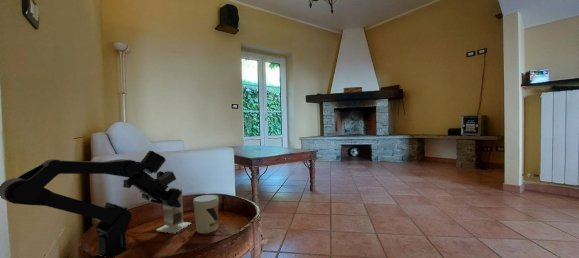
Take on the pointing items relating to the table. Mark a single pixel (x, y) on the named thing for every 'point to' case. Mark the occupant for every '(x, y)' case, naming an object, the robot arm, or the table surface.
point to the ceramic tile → (173, 227)
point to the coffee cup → (206, 213)
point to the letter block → (173, 214)
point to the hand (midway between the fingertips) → (176, 205)
